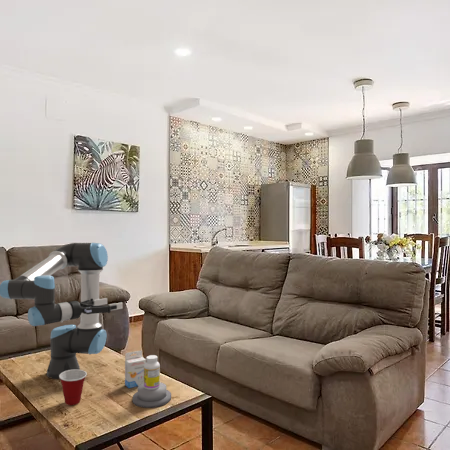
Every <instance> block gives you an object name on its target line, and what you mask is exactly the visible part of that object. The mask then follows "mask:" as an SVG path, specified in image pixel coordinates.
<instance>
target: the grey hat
mask: <svg viewBox="0 0 450 450" xmlns="http://www.w3.org/2000/svg"><path fill="white" fill-rule="evenodd" d="M171 400H172V393H171V391H170V390H168V389H167V384H165V383H164V382H161V381H160V386H159V388H157V389H154V390H147V389H145V388H144V384H141V385H140V386H137V391H136V392H135V393H134V394H133V396H132V403H133V405H135V406H136V407H139V408H144V409H145V408H147V409H153V408H160V407H162V406H165V405H167V404H168V403H170V401H171Z"/></svg>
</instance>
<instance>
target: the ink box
mask: <svg viewBox="0 0 450 450" xmlns="http://www.w3.org/2000/svg"><path fill="white" fill-rule="evenodd" d="M124 354H125V359H124V386H126V388H128V389H132V388H136V387H137V388H138V386H140V385H141V384H144V364H145V363H146V362H147V361H146V358H144V356H143V350H136V351H129V352H126V353H124Z"/></svg>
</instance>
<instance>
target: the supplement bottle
mask: <svg viewBox="0 0 450 450" xmlns="http://www.w3.org/2000/svg"><path fill="white" fill-rule="evenodd" d="M145 359H146V363H145V364H144V388H145V389H147V390H154V389H157V388H159V386H160V382H161V369H160V368H161V365H160V362H159V361H158V356H157V355H155V354H150V355H148V356H146V358H145Z"/></svg>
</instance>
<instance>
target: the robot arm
mask: <svg viewBox="0 0 450 450" xmlns="http://www.w3.org/2000/svg"><path fill="white" fill-rule="evenodd" d="M108 259H109V256H108V251H107V248H106V247H105V245H103V244H102V243H99V242H71V243H68V244H65V245H62V246H60V247H58V248H56V249H54V250H53V251H51V252H50V253H49V254H48V257H46V258H44V259H43V260H42V261H40V262H39V263H37V264H35V265H34V266H32V267H31V268H30V269H28V270H27V271H25V272H24V273H22V274H21V275H19V276H18V277H16V278H13V279H7V280H3V281H2V282H1V283H0V297H1V298H2V299H9V300H33V301H34V302H33V303H34V306H32V307H30V308H28V312H27V321H28V324H29V325H31V326H32V327H37V326H44V325H49V324H56V323H61V324H62V323H63V324H64V321H71V320H76V319H79V318H80V323H78V325H76V324H65V325H61V326H57V327H54V328H53V329H52V330H51V332H50V338H49V339H50V360H49V363H48V366H47V370H46V377H48V378H49V379H54V380H59V379H60V378H59V375H60V374H61V373H62V372H64V371H67V370H74V369H77V370H81V369H80V367H81V366H80V364H79V361H78V358H77V354H83V355H84V354H85V355H97V354H99V353H101V352H102V351H103V350H104V347H105V346H106V342H107V331H106V329H103V324H102V323H100V314H107V313H108V314H110V313H111V312H112V311H117V310H118V311H119V310H123V308H124V307H123V304H124V302H122V301H120V302H118V303H116V302H114V303H110V304H108V297H104V298H100V276H101V275H100V274H101V273H102V272H103V270H104V267H106V266H107V264H108ZM67 267H77V271H78V272H79V273H80V279H81V280H80V302H79V301H78V300H72V301H68V302H67V301H64V302H60V303H59V302H57V303H56V301H55V300H56V299H55V298H56V284H55V277H54V276H53V275H54V274H55V273H56V272H57V271H59V270H64V269H66V268H67Z"/></svg>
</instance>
